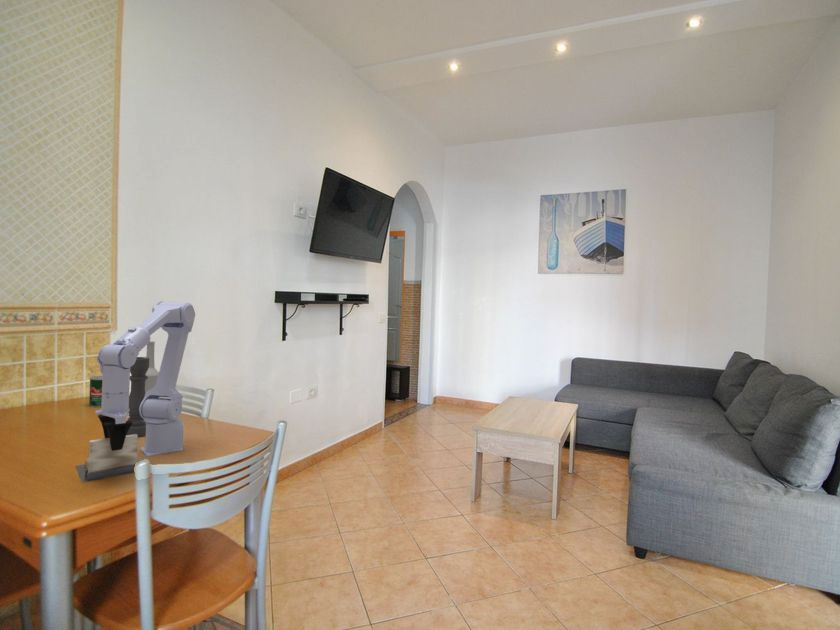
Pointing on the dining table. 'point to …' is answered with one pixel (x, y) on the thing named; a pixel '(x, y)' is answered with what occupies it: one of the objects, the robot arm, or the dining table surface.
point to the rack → (103, 472)
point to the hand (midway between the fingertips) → (113, 445)
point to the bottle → (151, 368)
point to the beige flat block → (112, 454)
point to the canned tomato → (95, 391)
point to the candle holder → (137, 396)
